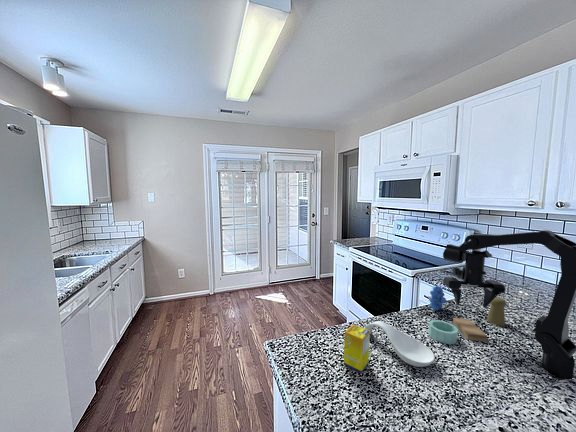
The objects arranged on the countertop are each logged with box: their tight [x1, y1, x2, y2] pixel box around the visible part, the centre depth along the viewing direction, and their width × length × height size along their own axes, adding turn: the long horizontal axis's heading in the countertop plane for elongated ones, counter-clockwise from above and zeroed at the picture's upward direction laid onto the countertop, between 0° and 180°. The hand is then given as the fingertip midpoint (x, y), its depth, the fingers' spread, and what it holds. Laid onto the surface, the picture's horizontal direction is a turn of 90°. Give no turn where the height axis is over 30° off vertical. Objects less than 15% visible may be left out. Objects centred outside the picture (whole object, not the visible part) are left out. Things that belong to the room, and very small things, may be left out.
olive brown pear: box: [486, 296, 507, 327], centre depth 102 cm, size 6×6×11 cm
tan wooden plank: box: [452, 317, 488, 343], centre depth 94 cm, size 12×6×2 cm, turn 169°
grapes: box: [428, 285, 448, 312], centre depth 112 cm, size 12×7×12 cm, turn 126°
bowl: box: [427, 319, 459, 345], centre depth 91 cm, size 9×9×4 cm
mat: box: [450, 322, 490, 343], centre depth 95 cm, size 12×8×1 cm, turn 169°
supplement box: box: [343, 324, 371, 374], centre depth 75 cm, size 6×6×11 cm
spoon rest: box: [364, 320, 436, 368], centre depth 83 cm, size 24×12×7 cm, turn 38°
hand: (471, 306), depth 94 cm, fingers open, 9 cm apart
